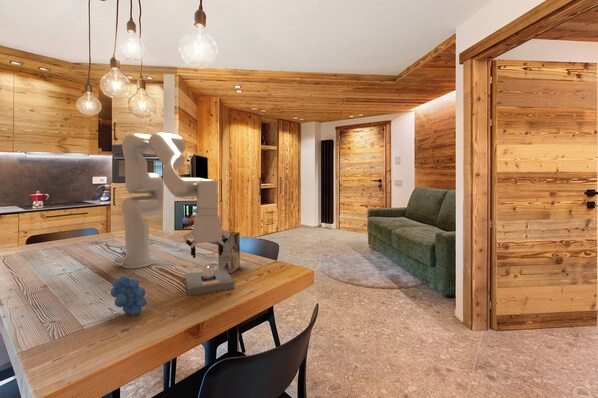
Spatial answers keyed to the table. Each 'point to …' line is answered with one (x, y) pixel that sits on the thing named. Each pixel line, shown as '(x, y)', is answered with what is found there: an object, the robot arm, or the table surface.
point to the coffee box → (230, 253)
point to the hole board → (208, 282)
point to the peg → (208, 272)
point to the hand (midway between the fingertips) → (207, 255)
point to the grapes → (128, 294)
